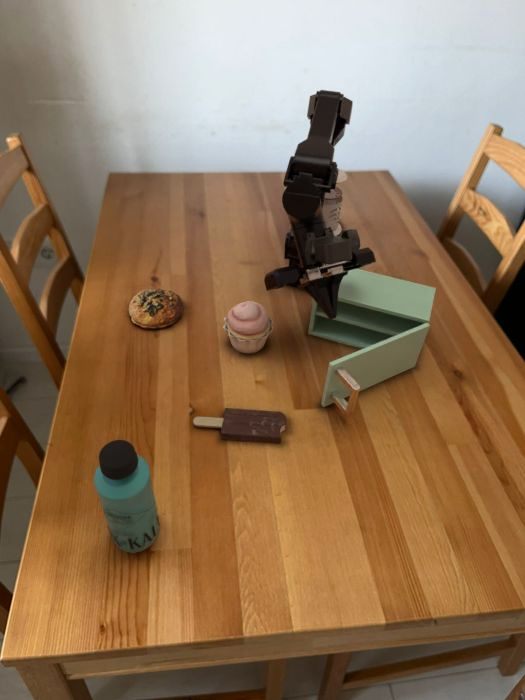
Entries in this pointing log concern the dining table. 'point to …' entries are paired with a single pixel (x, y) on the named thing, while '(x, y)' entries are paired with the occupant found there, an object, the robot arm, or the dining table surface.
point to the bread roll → (155, 308)
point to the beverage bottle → (127, 496)
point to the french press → (334, 205)
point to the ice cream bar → (247, 425)
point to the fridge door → (371, 367)
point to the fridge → (373, 309)
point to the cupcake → (248, 327)
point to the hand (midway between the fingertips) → (333, 318)
